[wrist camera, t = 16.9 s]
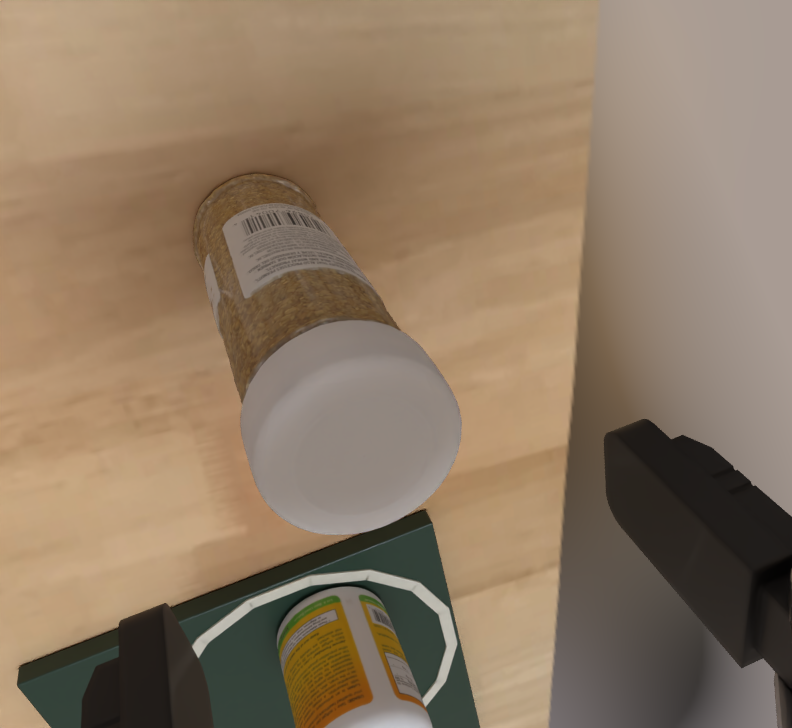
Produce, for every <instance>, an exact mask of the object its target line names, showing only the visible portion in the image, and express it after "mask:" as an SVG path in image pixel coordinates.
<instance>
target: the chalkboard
mask: <svg viewBox="0 0 792 728" xmlns="http://www.w3.org/2000/svg"><path fill="white" fill-rule="evenodd" d="M346 586H351V587H359V588H362V589H365V590H368V591H370V592H371V593H373V594H374V595H376V596H377V597H378V598H379V599H380V601H381V602H382V603H383V605H384V607H385V609H386V611H387V613H388V616H389V618H390V620H391V623H392V625H393V628H394V630H395V632H396V635H397V638H398V640H399V643H400V645H401V648H402V650H403V652H404V655H405V658H406V660H407V663H408V665H409V668H410V670H411V673H412V675H413V678H414V680H415V683H416V685H417V688H418V690H419V693H420V695H421V698H422V700H423V703H424V705H425V707H426V710H427V712H428V715H429V718H430V721H431V723H432V727H433V728H480V725H479V720H478V716H477V712H476V707H475V703H474V699H473V695H472V690H471V686H470V682H469V678H468V673H467V669H466V665H465V660H464V656H463V652H462V648H461V643H460V639H459V635H458V631H457V626H456V622H455V618H454V613H453V609H452V605H451V601H450V596H449V592H448V588H447V583H446V579H445V575H444V571H443V566H442V562H441V558H440V554H439V549H438V545H437V541H436V536H435V532H434V528H433V524H432V521H431V520H430V518H429V516H428V514H427V512H426V511H425V510H424V511H421V512H419V513H416V514H413V515H411V516H408V517H406V518H403V519H401V520H398V521H395V522H393V523H391V524H388V525H386V526H384V527H381V528H378V529H375V530H372V531H370V532H367V533H364V534H362V535H359V536H357V537H354V538H352V539H349V540H346V541H344V542H341V543H339V544H336V545H333V546H331V547H328V548H326V549H323V550H321V551H318V552H315V553H313V554H310V555H308V556H305V557H302V558H300V559H297V560H295V561H292V562H290V563H287V564H284V565H282V566H279V567H277V568H274V569H272V570H269V571H266V572H264V573H261V574H259V575H256V576H253V577H251V578H248V579H246V580H243V581H241V582H238V583H235V584H233V585H230V586H228V587H225V588H222V589H220V590H217V591H215V592H212V593H210V594H207V595H204V596H202V597H199V598H197V599H194V600H191V601H189V602H186V603H184V604H181V605H179V606H176V607H173V608H171V610H172V612H173V613H174V615H175V617H176V619H177V621H178V622H179V624H180V626H181V628H182V630H183V631H184V633H185V635H186V637H187V639H188V640H189V642H190V644H191V646H192V648H193V649H194V651H195V653H196V655H197V657H198V659H199V661H200V663H201V666H202V669H203V671H204V675H205V678H206V682H207V686H208V690H209V696H210V703H211V710H212V718H213V725H214V728H296V727H295V722H294V718H293V714H292V710H291V705H290V701H289V697H288V692H287V688H286V684H285V680H284V676H283V672H282V668H281V663H280V659H279V655H278V649H277V635H278V631H279V628H280V626H281V624H282V622H283V620H284V618H285V617H286V615H287V614H288V613H289V612H290V611H291V610H292V609H293V608H294V607H295V606H296V605H297V604H299V603H300V602H301V601H303V600H304V599H306V598H308V597H310V596H312V595H314V594H316V593H318V592H321V591H324V590H327V589H331V588H336V587H346ZM117 657H119V641H118V629H117V630H114V631H111V632H109V633H106V634H104V635H101V636H99V637H96V638H93V639H91V640H88V641H86V642H83V643H80V644H78V645H75V646H73V647H70V648H68V649H65V650H62V651H60V652H57V653H55V654H52V655H50V656H47V657H44V658H42V659H39V660H37V661H34V662H31V663H29V664H26V665H24V666H21V667H20V668H19V672H18V681H17V686H18V688H19V689H20V690H21V691H22V692H23V694H24V695H25V696H26V697H27V699H28V700H29V701H30V702H31V703H32V705H33V706H34V707H35V708H36V710H37V711H38V712H39V713H40V715H41V716H42V717H43V718H44V719H45V721H46V722H47V723H48V724H49V726H50V727H51V728H81V713H82V698H83V695H84V693H85V691H86V688H87V686H88V684H89V681H90V679H91V676H92V674H93V672H94V669H95V667H96V666H97V665H100V664H102V663H105V662H107V661H110V660H112V659H115V658H117Z"/></svg>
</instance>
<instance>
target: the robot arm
mask: <svg viewBox="0 0 792 728" xmlns="http://www.w3.org/2000/svg"><path fill="white" fill-rule="evenodd" d="M604 456H605V475H606V476H605V478H606V495H607V500H608V504H609V506H610V509H611V511H612V513H613V515H614V517H615V519H616V521H617V522H618V523H619V525H620V526H621V528H622V529H623V530H624V531H625V532H626V533H627V534H628V536H629V537H630V538H631V539H632V540H633V541H634V543H635V544H636V545H637V546H638V547H639V549H640V550H641V551H642V552H643V553H644V555H645V556H646V557H647V558H648V559H649V560H650V562H651V563H652V564H653V565H654V566H655V567H656V569H657V570H658V571H659V572H660V573H661V574H662V576H663V577H664V578H665V579H666V580H667V581H668V583H669V584H670V585H671V586H672V587H673V589H674V590H675V591H676V592H677V593H678V594H679V596H680V597H681V598H682V599H683V600H684V601H685V603H686V604H687V605H688V606H689V607H690V608H691V610H692V611H693V612H694V613H695V614H696V615H697V617H698V618H699V619H700V620H701V621H702V623H703V624H704V625H705V626H706V627H707V628H708V630H709V631H710V632H711V633H712V634H713V635H714V637H715V638H716V639H717V640H718V641H719V642H720V644H721V645H722V646H723V647H724V648H725V649H726V651H727V652H728V653H729V654H730V655H731V657H732V658H733V659H734V660H735V661H736V662H737V664H738V665H739V666H740V667H741V668H743V667H745V666H747V665H749V664H752V663H754V662H756V661H758V660H760V659H762V658H764V660H766V662H767V663H768V664H769V665H770V666H771V667H772V668H773V670H774V671H775V676H774V686H775V699H776V713H777V726H778V728H792V517H791V516H790V515H789V514H788V513H787V512H785V511H784V510H783V509H782V508H781V507H780V506H778V505H777V504H776V503H775V502H774V501H773V500H771V499H770V498H769V497H768V496H767V495H766V494H764V493H763V492H762V491H761V490H760V489H759V488H758V487H757V486H753V485H752V484H751V481H750V480H748V479H747V478H746V477H745V476H744V475H743V474H742V473H740V472H739V471H738V470H736V471H735V470H734V468H733V466H732V465H731V464H730V463H729V462H728V461H726V460H725V459H724V458H723V457H722V456H721V455H720V454H719V453H717V452H716V451H715V450H714V449H713V448H711V447H709V446H707V445H705V444H702V443H700V442H698V441H695V440H693V439H691V438H688V437H686V436H684V435H681V436H679V437H676V438H674V439H670V438H669V437H668V436H667V435H666V434H665V433H664V432H662V431H661V430H660V429H659V428H658V427H657V426H656V425H655V424H654V423H652V422H651V421H649V420H647V419H642V420H639V421H637V422H634V423H632V424H629V425H626V426H624V427H621V428H619V429H616V430H614V431H611V432H608V433H607V434H606V435H605V437H604ZM118 641H119V657H117V658H115V659H112V660H110V661H107V662H105V663H102V664H100V665H97V666H96V667H95V669H94V672H93V674H92V676H91V679H90V681H89V684H88V686H87V688H86V691H85V693H84V695H83V698H82V713H81V728H214V725H213V718H212V710H211V703H210V696H209V690H208V686H207V682H206V678H205V675H204V671H203V669H202V666H201V663H200V661H199V659H198V657H197V655H196V653H195V651H194V649H193V648H192V646H191V644H190V642H189V640H188V639H187V637H186V635H185V633H184V631H183V630H182V628H181V626H180V624H179V622H178V621H177V619H176V617H175V615H174V613H173V612H172V610H171V608H170V607H169V605H168V604H166V603H164V604H162V605H159V606H156V607H154V608H151V609H149V610H146V611H143V612H141V613H138V614H136V615H133V616H131V617H128V618H125V619H123V620H121V621H120V622H119V627H118Z"/></svg>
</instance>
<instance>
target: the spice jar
mask: <svg viewBox="0 0 792 728" xmlns="http://www.w3.org/2000/svg"><path fill="white" fill-rule="evenodd" d="M193 236H194V237H193V243H194V252H195V256H196V258H197V261H198V263H199V265H200V266H201V268H202V270H203V271H204V278H205V284H206V289H207V293H208V297H209V301H210V304H211V307H212V310H213V314H214V318H215V321H216V324H217V327H218V331H219V333H220V335H221V337H222V339H223V341H224V344H225V347H226V351H227V354H228V357H229V360H230V364H231V368H232V372H233V376H234V381H235V383H236V387H237V390H238V392H239V395H240V399H241V403H242V410H241V434H242V439H243V443H244V447H245V451H246V454H247V458H248V461H249V464H250V468H251V471H252V474H253V477H254V480H255V483H256V485H257V488H258V490H259V492H260V494H261V495H262V497H263V499H264V500H265V502H266V503H267V504H268V506H269V507H270V508H271V509H272V510H273V511H274V512H275V513H276V514H277V515H279V516H280V517H281V518H283V519H284V520H285V521H287V522H289V523H290V524H292V525H294V526H296V527H298V528H301V529H304V530H307V531H310V532H313V533H320V534H327V535H347V534H357V533H363V532H368V531H371V530H375V529H378V528H381V527H384V526H386V525H388V524H391V523H393V522H395V521H397V520H399V519H400V518H402V517H404V516H405V515H407V514H409V513H410V512H412V511H413V510H415V509H416V508H417V507H419V506H420V505H421V504H422V503H424V502H425V501H426V500H427V499H428V498H429V497H430V496H431V495H432V494H433V493H434V492H435V491H436V490H437V489H438V487H439V486H440V485H441V484H442V482H443V481H444V479H445V478H446V476H447V475H448V473H449V471H450V469H451V467H452V465H453V463H454V461H455V458H456V455H457V453H458V449H459V445H460V440H461V426H462V422H461V415H460V410H459V406H458V403H457V401H456V399H455V396H454V394H453V392H452V390H451V388H450V387H449V385H448V383H447V382H446V380H445V379H444V377H443V376H442V374H441V373H440V371H439V370H438V368H437V367H436V365H435V364H434V363H433V361H432V360H431V359H430V357H429V356H428V355H427V353H426V352H425V351H424V350H423V348H422V347H421V346H420V345H419V344H418V343H417V342H416V341H414V340H413V339H412V338H411V337H409V336H408V335H407V334H405V333H403V332H402V331H401V330H400V328H399V327H398V326H397V324H396V323H395V322H394V320H393V318H392V317H391V316H390V314H389V313H388V312H387V310H386V308H385V306H384V303H383V301H382V300H381V298H380V296H379V295H378V293H377V292H376V291H375V289H374V288H373V286H372V285H371V284H370V282H369V281H368V279H367V278H366V276H365V275H364V274H363V272H362V271H361V270H360V268H359V267H358V266H357V264H356V263H355V261H354V260H353V259H352V257H351V256H350V254H349V253H348V252H347V250H346V249H345V248H344V246H343V245H342V244H341V242H340V241H339V239H338V238H337V237H336V235H335V234H334V233H333V231H332V230H331V229H330V228H329V227H328V226H327V224H326V223H325V222H323V221H322V220H321V218H320V216H319V213H318V212H317V210H316V206H315V204H314V203H313V201H312V200H311V199H310V197H309V196H308V195H307V194H306V193H305V192H304V191H303V190H302V189H301V188H300V187H298V186H297V185H295V184H294V183H292V182H291V181H289V180H286V179H283V178H280V177H278V176H274V175H265V174H250V175H244V176H239V177H236V178H233V179H231V180H230V181H228V182H226V183H224V184H222V185H221V186H220V187H218V188H216V189H215V190H214V191H213V192H212V194H211V195H210V196H208V198H207V199H206V200H205V201H204V202H203V203H202V205H201V206H200V208H199V210H198V212H197V216H196V219H195V223H194V228H193Z"/></svg>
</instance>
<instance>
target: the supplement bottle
mask: <svg viewBox="0 0 792 728" xmlns="http://www.w3.org/2000/svg"><path fill="white" fill-rule="evenodd" d="M277 649H278V655H279V659H280V663H281V668H282V672H283V676H284V680H285V684H286V688H287V692H288V697H289V701H290V705H291V710H292V714H293V718H294V722H295V727H296V728H433V727H432V723H431V721H430V718H429V715H428V712H427V710H426V707H425V705H424V703H423V700H422V698H421V695H420V693H419V690H418V688H417V685H416V683H415V680H414V678H413V675H412V673H411V670H410V668H409V665H408V663H407V660H406V658H405V655H404V652H403V650H402V648H401V645H400V643H399V640H398V638H397V635H396V632H395V630H394V628H393V625H392V623H391V620H390V618H389V616H388V613H387V611H386V609H385V607H384V605H383V603H382V602H381V601H380V599H379V598H378V597H377V596H376V595H374V594H373V593H371V592H370V591H368V590H365V589H362V588H359V587H351V586H346V587H336V588H331V589H327V590H324V591H321V592H318V593H316V594H314V595H312V596H310V597H308V598H306V599H304V600H303V601H301V602H300V603H299V604H297V605H296V606H295V607H294V608H293V609H292V610H291V611H290V612H289V613H288V614H287V615H286V617H285V618H284V620H283V622H282V624H281V626H280V628H279V631H278V635H277Z"/></svg>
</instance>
